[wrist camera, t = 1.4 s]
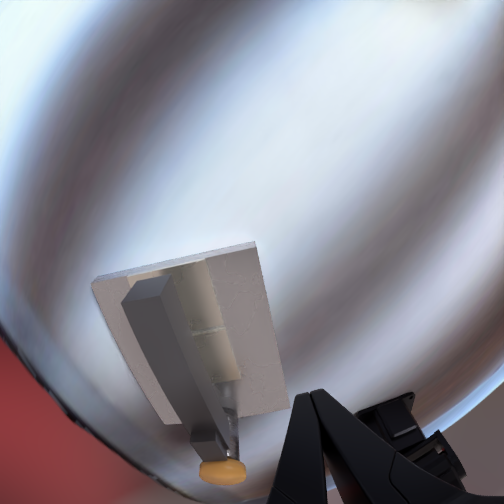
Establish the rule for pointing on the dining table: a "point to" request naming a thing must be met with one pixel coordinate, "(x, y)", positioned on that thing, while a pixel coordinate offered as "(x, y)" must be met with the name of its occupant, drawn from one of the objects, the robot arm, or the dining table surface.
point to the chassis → (210, 331)
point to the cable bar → (182, 374)
